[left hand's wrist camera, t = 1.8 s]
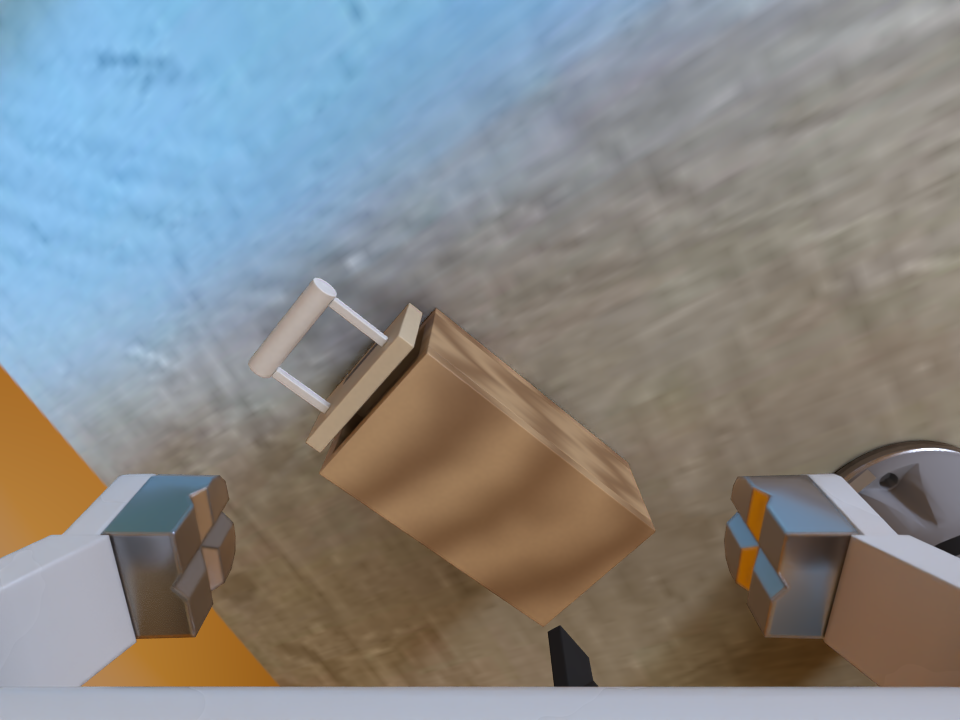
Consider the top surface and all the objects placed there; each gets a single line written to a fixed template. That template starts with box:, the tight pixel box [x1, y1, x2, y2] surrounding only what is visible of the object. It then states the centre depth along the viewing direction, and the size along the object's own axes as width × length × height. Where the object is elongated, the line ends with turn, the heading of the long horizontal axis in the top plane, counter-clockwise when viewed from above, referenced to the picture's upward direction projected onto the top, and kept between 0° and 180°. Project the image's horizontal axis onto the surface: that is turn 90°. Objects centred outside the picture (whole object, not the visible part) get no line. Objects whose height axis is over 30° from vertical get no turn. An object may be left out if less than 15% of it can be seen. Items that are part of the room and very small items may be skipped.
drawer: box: [248, 278, 422, 452], centre depth 44 cm, size 24×10×6 cm, turn 49°
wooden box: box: [319, 308, 655, 627], centre depth 45 cm, size 19×11×9 cm, turn 49°
